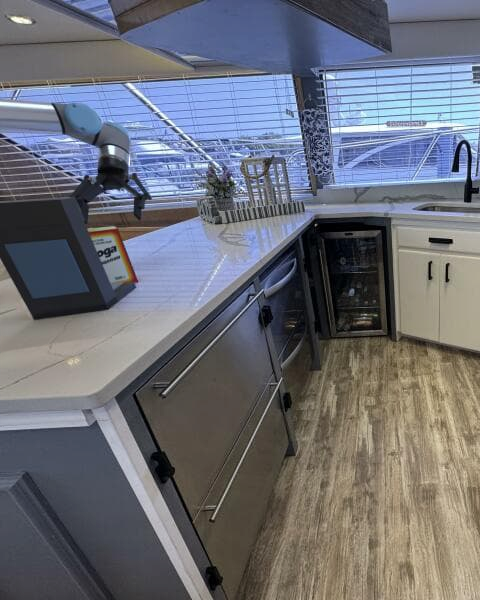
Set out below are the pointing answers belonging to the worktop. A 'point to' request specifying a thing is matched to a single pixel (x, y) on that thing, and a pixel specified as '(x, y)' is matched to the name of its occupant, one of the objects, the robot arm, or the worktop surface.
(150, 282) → the worktop surface
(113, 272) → the baking soda box
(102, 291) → the slanted screen kiosk
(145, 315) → the worktop surface
